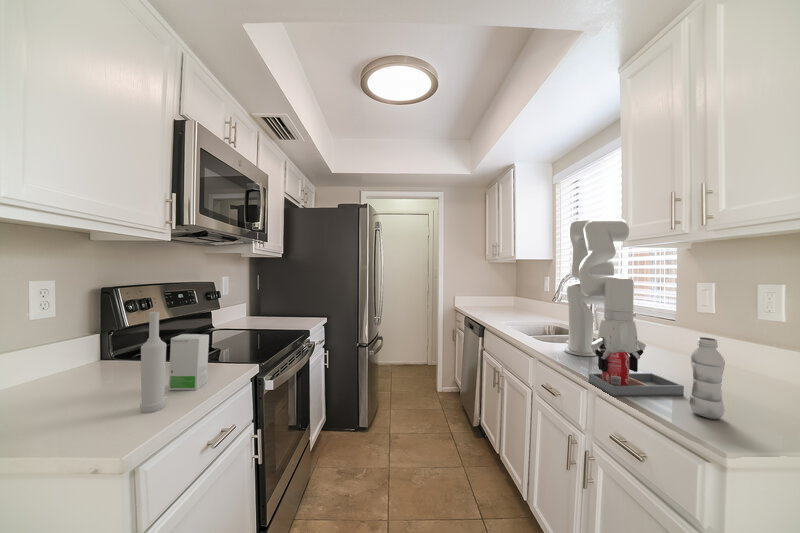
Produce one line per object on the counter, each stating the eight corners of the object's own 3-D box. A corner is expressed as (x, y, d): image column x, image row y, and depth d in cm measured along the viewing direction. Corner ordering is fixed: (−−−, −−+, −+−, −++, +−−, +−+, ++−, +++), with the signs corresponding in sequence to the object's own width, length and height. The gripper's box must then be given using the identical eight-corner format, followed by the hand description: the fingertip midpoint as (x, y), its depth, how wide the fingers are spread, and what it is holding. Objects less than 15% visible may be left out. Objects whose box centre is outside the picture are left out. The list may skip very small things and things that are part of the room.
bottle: (140, 407, 81) (142, 311, 81) (165, 402, 84) (166, 310, 84) (139, 415, 77) (140, 314, 77) (165, 409, 80) (166, 312, 80)
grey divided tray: (588, 382, 103) (588, 373, 103) (651, 382, 104) (651, 373, 104) (613, 396, 92) (613, 386, 92) (683, 396, 93) (683, 386, 93)
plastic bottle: (716, 413, 82) (717, 337, 82) (730, 425, 76) (731, 343, 76) (684, 408, 85) (685, 335, 85) (696, 419, 78) (697, 340, 78)
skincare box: (167, 391, 92) (168, 338, 92) (180, 382, 98) (181, 333, 98) (197, 390, 93) (198, 338, 93) (208, 382, 99) (209, 333, 99)
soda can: (620, 383, 101) (621, 346, 101) (634, 392, 94) (634, 352, 94) (597, 381, 102) (598, 345, 102) (608, 390, 95) (609, 351, 95)
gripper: (635, 314, 102) (634, 366, 102) (584, 314, 101) (583, 366, 101) (655, 318, 94) (654, 374, 94) (600, 318, 93) (599, 375, 93)
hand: (617, 370), depth 98 cm, fingers open, 9 cm apart
